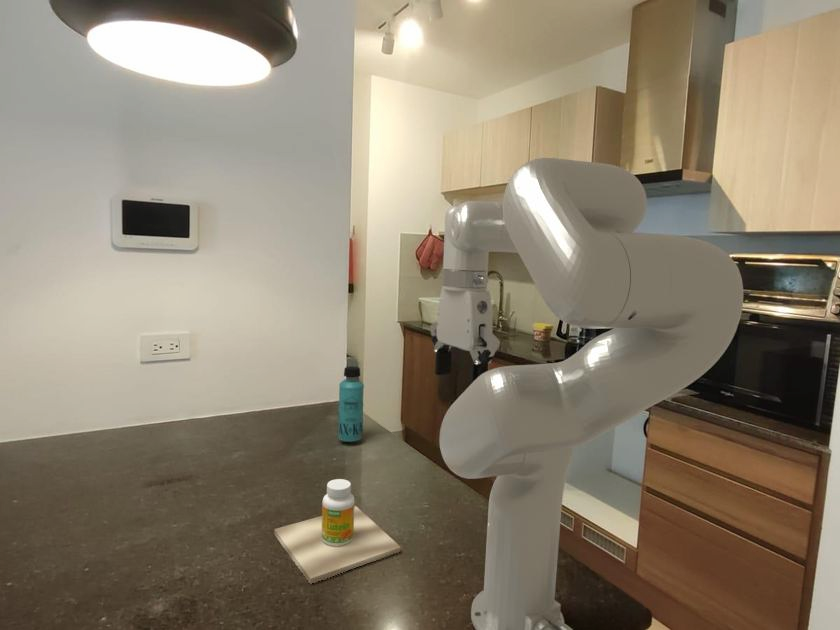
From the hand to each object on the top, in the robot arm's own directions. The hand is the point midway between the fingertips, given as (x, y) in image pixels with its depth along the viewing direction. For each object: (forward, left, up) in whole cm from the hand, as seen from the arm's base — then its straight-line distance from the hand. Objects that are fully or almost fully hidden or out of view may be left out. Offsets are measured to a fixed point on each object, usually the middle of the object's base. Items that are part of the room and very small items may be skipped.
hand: (459, 380), depth 89 cm
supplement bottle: (+8, +19, -28) cm, 34 cm away
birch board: (+8, +19, -28) cm, 35 cm away
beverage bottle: (+48, -4, -28) cm, 56 cm away
